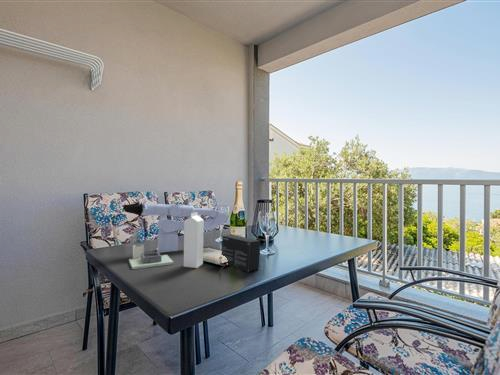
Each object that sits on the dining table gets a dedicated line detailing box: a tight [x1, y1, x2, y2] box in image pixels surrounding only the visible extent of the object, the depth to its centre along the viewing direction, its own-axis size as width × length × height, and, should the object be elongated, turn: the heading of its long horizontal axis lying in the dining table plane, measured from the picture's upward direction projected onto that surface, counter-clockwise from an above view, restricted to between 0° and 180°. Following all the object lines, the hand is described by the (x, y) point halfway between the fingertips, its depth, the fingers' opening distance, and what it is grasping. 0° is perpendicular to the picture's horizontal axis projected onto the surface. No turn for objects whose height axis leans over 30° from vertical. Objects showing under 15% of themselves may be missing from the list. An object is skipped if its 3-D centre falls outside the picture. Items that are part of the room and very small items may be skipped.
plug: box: [132, 243, 145, 259], centre depth 123 cm, size 4×4×7 cm
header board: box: [128, 251, 174, 270], centre depth 118 cm, size 16×12×4 cm
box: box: [221, 234, 261, 273], centre depth 116 cm, size 17×7×12 cm, turn 45°
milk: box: [183, 212, 205, 269], centre depth 115 cm, size 6×6×22 cm
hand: (123, 208), depth 128 cm, fingers open, 7 cm apart
